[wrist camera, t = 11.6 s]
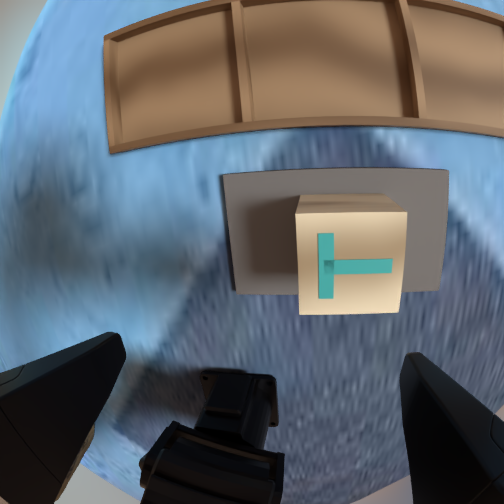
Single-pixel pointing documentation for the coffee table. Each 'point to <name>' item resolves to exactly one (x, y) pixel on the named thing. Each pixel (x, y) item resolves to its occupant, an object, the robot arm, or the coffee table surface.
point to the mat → (329, 182)
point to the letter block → (350, 253)
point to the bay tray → (303, 69)
